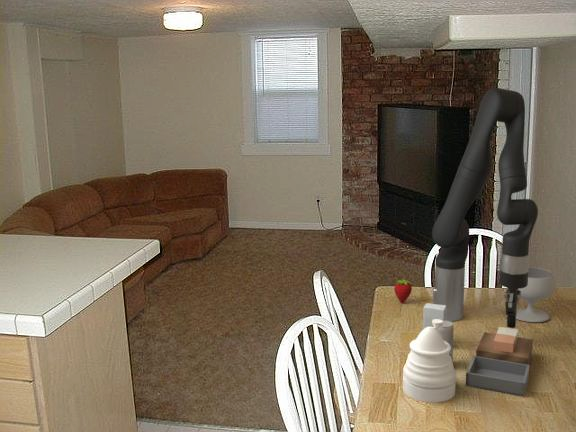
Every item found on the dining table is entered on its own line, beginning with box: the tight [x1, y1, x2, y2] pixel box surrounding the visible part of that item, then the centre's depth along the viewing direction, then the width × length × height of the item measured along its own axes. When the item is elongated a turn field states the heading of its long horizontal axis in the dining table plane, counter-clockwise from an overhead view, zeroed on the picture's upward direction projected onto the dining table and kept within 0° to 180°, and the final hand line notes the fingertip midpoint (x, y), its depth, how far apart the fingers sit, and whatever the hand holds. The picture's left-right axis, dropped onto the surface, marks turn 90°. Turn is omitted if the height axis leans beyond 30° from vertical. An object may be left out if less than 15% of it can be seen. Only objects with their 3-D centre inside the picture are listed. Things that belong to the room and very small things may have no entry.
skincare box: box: [422, 302, 447, 330], centre depth 180 cm, size 6×4×12 cm
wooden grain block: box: [475, 331, 534, 366], centre depth 169 cm, size 13×13×5 cm
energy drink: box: [433, 320, 454, 363], centre depth 168 cm, size 5×5×12 cm
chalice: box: [516, 266, 556, 323], centre depth 200 cm, size 14×14×15 cm
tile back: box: [496, 326, 519, 344], centre depth 172 cm, size 5×5×2 cm
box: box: [465, 355, 531, 398], centre depth 159 cm, size 14×11×4 cm
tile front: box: [493, 333, 516, 353], centre depth 167 cm, size 5×5×2 cm
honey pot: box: [402, 319, 457, 403], centre depth 154 cm, size 13×13×18 cm
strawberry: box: [393, 276, 413, 304], centre depth 215 cm, size 6×8×10 cm
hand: (511, 326), depth 179 cm, fingers closed
